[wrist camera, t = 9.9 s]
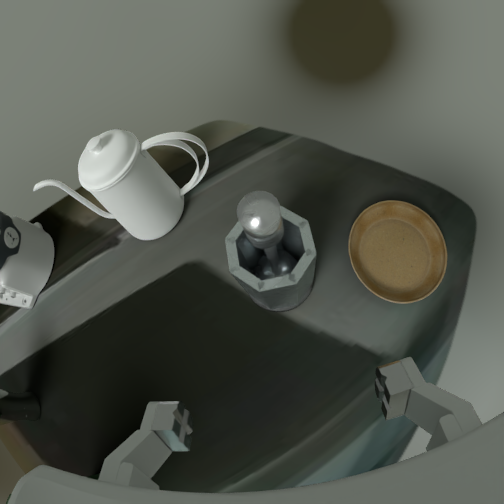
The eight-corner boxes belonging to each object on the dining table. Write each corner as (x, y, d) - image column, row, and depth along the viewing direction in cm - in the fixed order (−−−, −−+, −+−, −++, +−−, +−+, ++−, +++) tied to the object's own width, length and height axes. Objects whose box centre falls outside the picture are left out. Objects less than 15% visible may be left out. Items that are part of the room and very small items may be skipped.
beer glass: (26, 422, 37) (-31, 424, 23) (19, 390, 40) (-38, 385, 26) (45, 423, 37) (-16, 427, 23) (37, 388, 40) (-24, 384, 26)
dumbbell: (260, 297, 37) (227, 251, 21) (253, 257, 39) (218, 187, 23) (303, 288, 36) (302, 234, 20) (294, 248, 38) (286, 172, 22)
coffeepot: (94, 209, 50) (30, 154, 32) (218, 163, 48) (181, 77, 31) (94, 262, 46) (15, 216, 28) (231, 218, 44) (188, 134, 27)
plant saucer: (355, 198, 42) (357, 189, 40) (442, 221, 39) (449, 214, 36) (335, 293, 38) (337, 288, 36) (433, 316, 34) (441, 313, 32)
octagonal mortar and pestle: (251, 318, 39) (230, 301, 27) (238, 241, 43) (216, 199, 32) (320, 303, 38) (327, 281, 27) (302, 227, 42) (300, 180, 31)
